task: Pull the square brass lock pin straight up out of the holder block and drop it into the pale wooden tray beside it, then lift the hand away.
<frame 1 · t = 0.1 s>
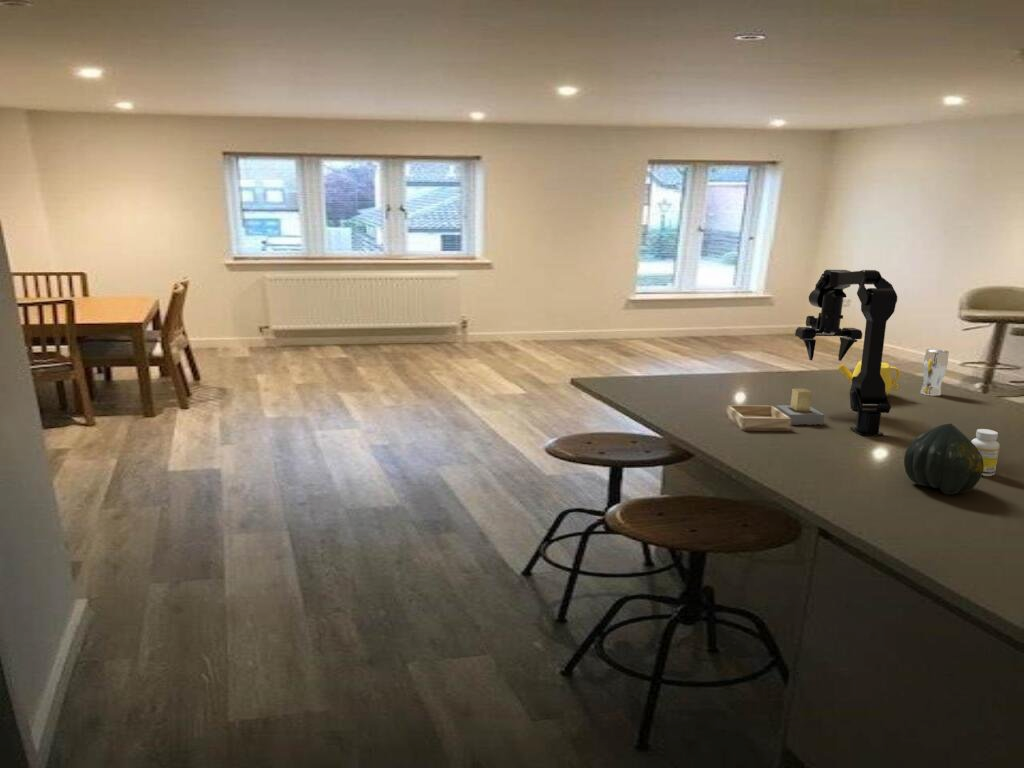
hand: (825, 360, 221), 15 cm above the table, tool pointing down, fingers open, 9 cm apart
teapot: (864, 395, 239), on the table
beer glass: (930, 394, 242), on the table
lock pin: (800, 405, 207), in the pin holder
tray: (756, 423, 204), on the table
squash: (937, 487, 159), on the table
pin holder: (798, 419, 209), on the table
supplement bottle: (980, 473, 168), on the table
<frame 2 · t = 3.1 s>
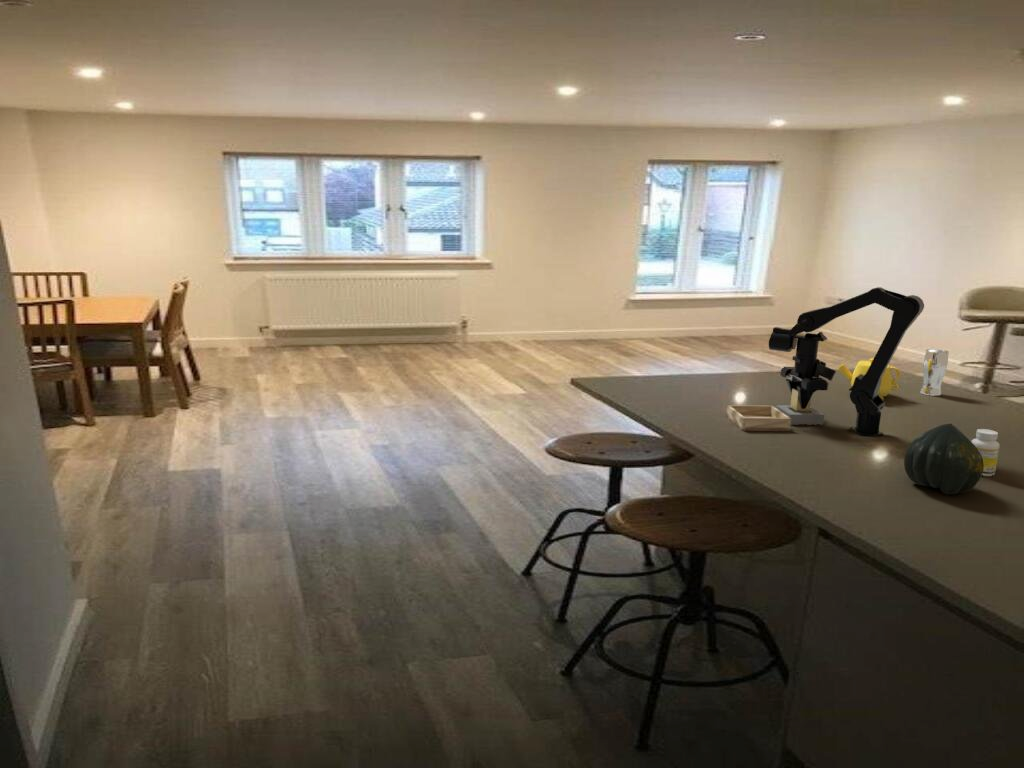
hand: (800, 406, 208), 4 cm above the table, tool pointing down, fingers closed on lock pin, 4 cm apart
lock pin: (800, 405, 207), in the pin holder, touching gripper
everything else where it was.
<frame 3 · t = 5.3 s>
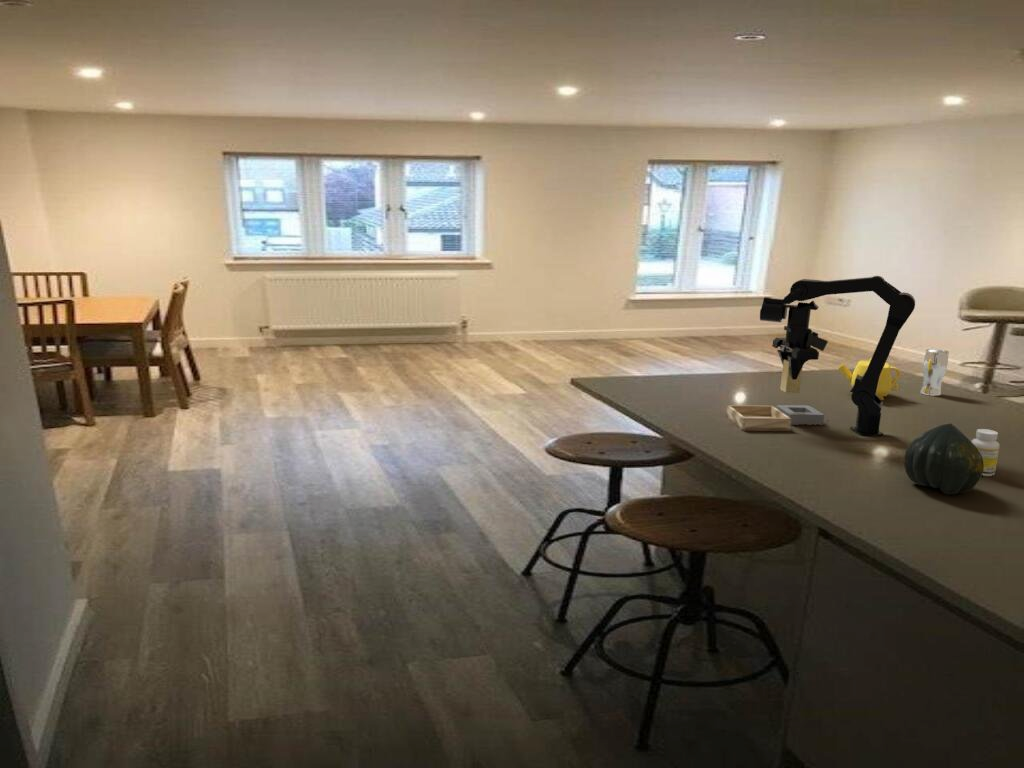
hand: (791, 377, 204), 13 cm above the table, tool pointing down, fingers closed on lock pin, 4 cm apart
lock pin: (791, 376, 204), point 13 cm above the table, touching gripper
everything else where it was.
when the fingers open (6 cm above the table, at t = 7.7 s): lock pin drops 1 cm, resting on tray.
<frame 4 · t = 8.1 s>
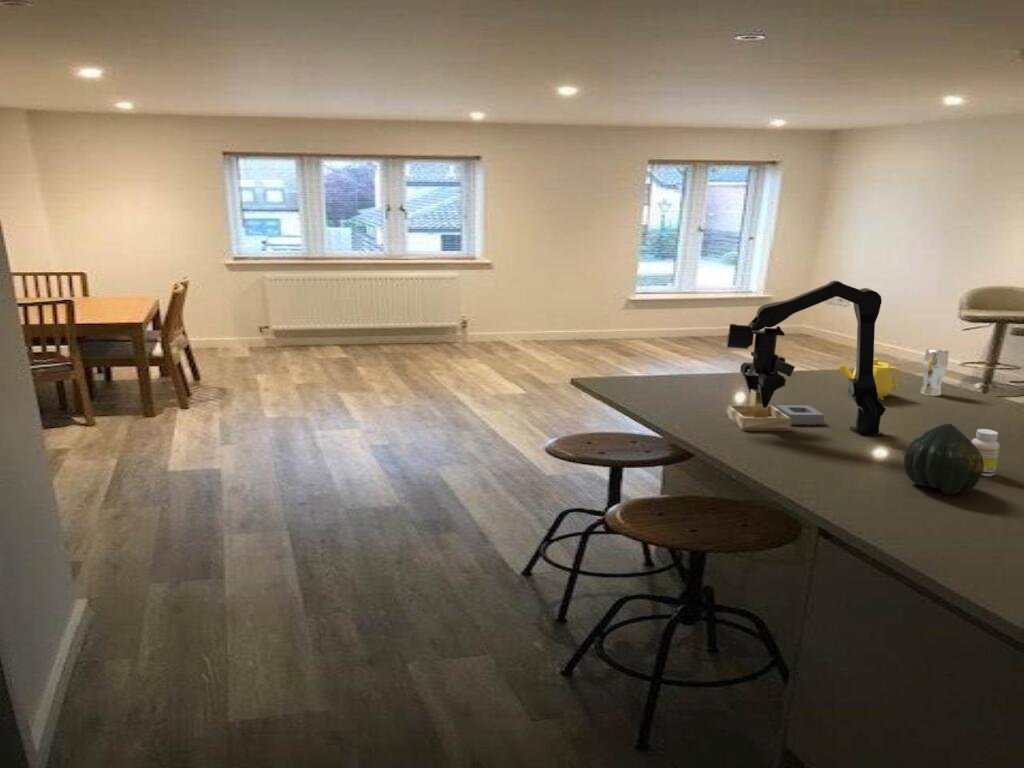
hand: (759, 403, 203), 6 cm above the table, tool pointing down, fingers open, 8 cm apart
lock pin: (758, 405, 203), in the tray, point 5 cm above the table
everything else where it was.
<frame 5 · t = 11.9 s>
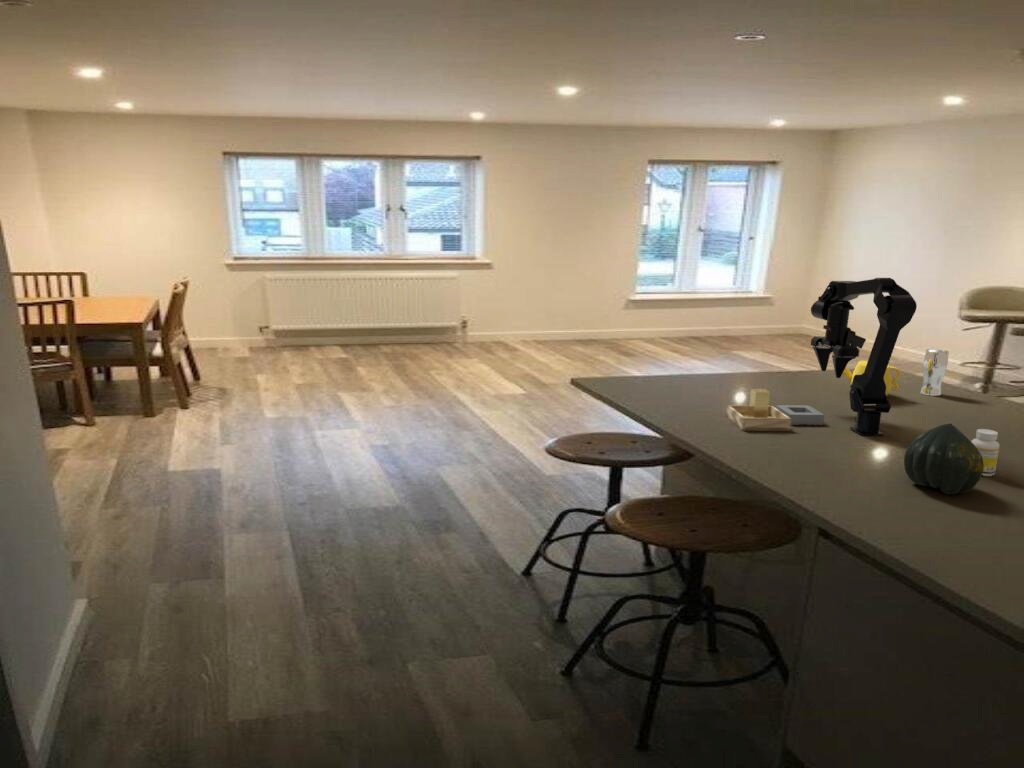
hand: (830, 374, 214), 12 cm above the table, tool pointing down, fingers open, 9 cm apart
nothing on the table moved.
at the end: lock pin inside the target area on the tray (0.0 cm from its centre), point 5.3 cm above the tray's base; lock pin moved 14.6 cm from its start; the gripper is holding nothing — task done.
